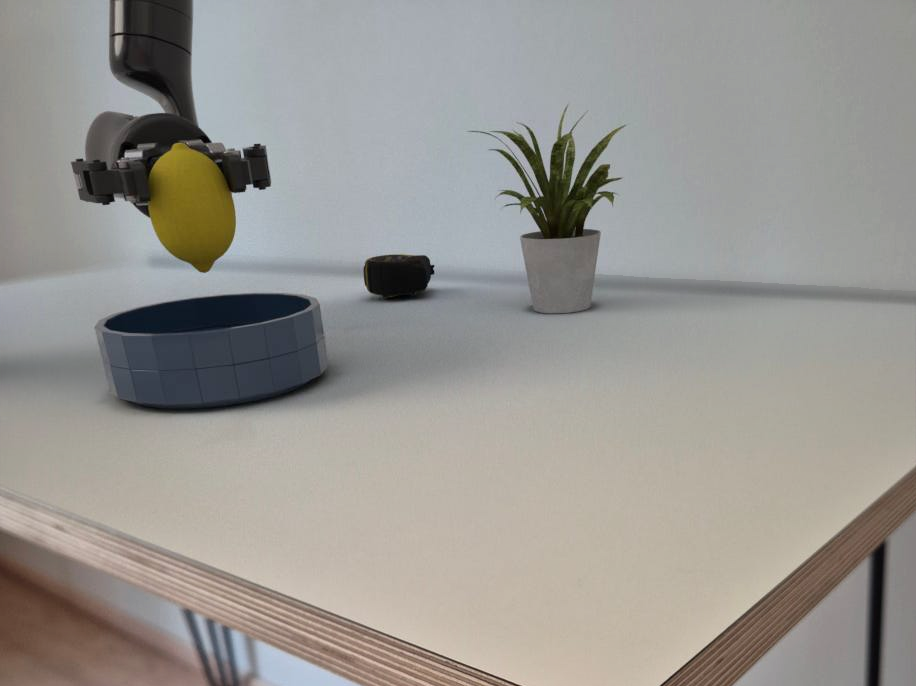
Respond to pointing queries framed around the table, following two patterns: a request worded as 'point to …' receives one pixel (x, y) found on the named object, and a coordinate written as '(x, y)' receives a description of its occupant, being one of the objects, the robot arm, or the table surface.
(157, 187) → the lemon
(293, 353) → the bowl
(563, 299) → the house plant
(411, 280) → the tape measure
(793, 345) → the table surface
